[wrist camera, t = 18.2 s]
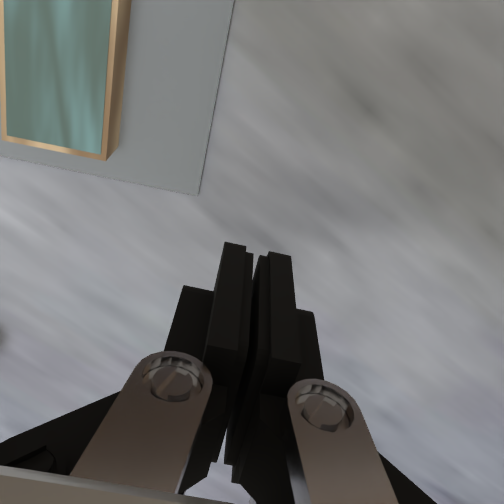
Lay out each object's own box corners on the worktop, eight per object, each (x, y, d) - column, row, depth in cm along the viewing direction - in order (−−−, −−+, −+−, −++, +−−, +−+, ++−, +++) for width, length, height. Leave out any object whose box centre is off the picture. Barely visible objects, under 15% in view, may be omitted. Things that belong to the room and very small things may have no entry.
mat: (236, -11, 29) (236, -11, 29) (198, 193, 36) (197, 196, 35) (-14, -76, 27) (-18, -78, 27) (-7, 152, 34) (-10, 154, 33)
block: (119, -12, 26) (-5, -43, 25) (105, 161, 30) (1, 140, 29) (132, -11, 29) (23, -38, 28) (118, 146, 33) (24, 126, 33)
